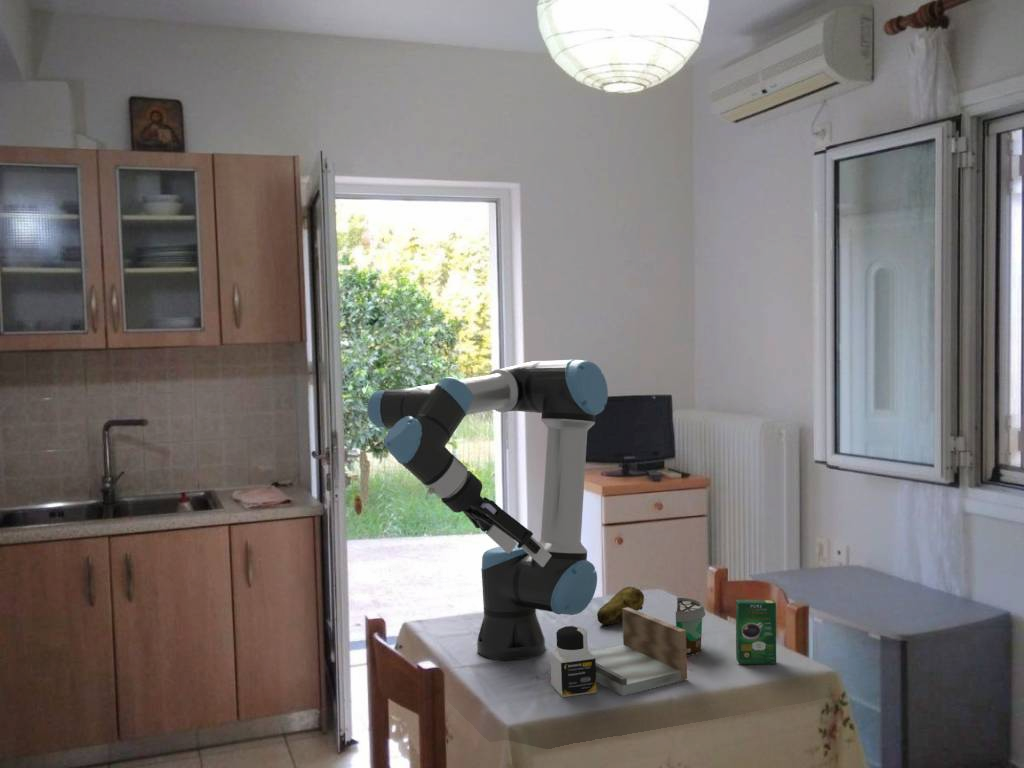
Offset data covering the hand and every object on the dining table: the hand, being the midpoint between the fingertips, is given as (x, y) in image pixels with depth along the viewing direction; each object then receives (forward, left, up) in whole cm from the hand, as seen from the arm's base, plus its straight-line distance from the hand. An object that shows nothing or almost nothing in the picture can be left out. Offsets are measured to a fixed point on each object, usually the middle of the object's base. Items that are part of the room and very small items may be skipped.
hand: (529, 554), depth 180 cm
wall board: (+10, +19, -28) cm, 35 cm away
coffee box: (+32, +37, -28) cm, 56 cm away
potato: (-6, +51, -28) cm, 58 cm away
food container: (+17, +39, -28) cm, 51 cm away
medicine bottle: (+5, +7, -28) cm, 29 cm away
